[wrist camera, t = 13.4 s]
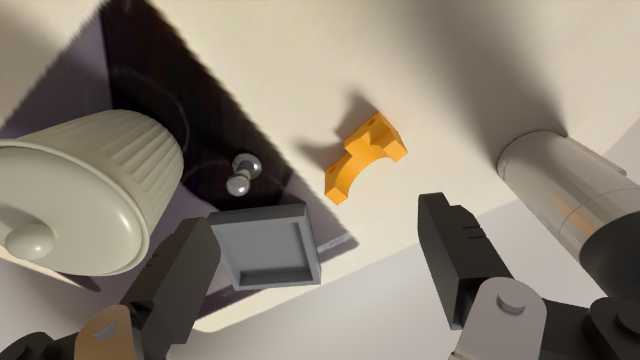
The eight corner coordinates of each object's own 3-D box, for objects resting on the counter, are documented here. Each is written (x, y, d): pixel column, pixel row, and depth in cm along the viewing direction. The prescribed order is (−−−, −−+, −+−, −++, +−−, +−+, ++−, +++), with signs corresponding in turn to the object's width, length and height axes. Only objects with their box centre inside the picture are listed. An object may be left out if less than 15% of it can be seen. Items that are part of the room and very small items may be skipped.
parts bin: (305, 202, 48) (304, 215, 45) (321, 269, 57) (320, 284, 55) (210, 212, 50) (202, 226, 47) (240, 275, 59) (235, 290, 56)
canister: (228, 161, 44) (161, 272, 27) (155, 212, 51) (62, 329, 33) (127, 59, 37) (-61, 121, 19) (55, 133, 43) (-138, 233, 25)
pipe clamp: (378, 110, 40) (386, 129, 34) (397, 131, 41) (407, 153, 36) (317, 163, 44) (315, 187, 39) (336, 180, 46) (337, 205, 41)
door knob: (257, 150, 43) (246, 175, 37) (265, 174, 46) (255, 202, 40) (230, 153, 44) (213, 179, 38) (238, 177, 46) (225, 205, 40)
